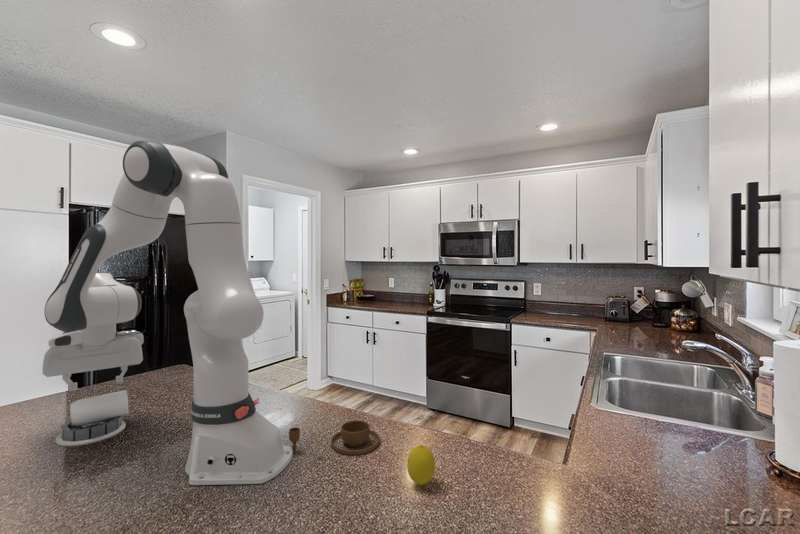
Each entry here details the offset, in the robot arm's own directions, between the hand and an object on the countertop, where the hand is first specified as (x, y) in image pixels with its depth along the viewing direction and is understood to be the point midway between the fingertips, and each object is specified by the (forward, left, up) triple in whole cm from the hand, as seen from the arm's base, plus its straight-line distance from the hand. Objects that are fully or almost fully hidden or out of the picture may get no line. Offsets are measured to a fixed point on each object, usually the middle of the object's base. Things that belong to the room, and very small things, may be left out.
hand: (97, 386), depth 97 cm
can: (-4, -6, -6) cm, 9 cm away
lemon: (-87, +10, -12) cm, 88 cm away
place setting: (-65, -5, -13) cm, 66 cm away
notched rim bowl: (0, +1, -12) cm, 12 cm away
